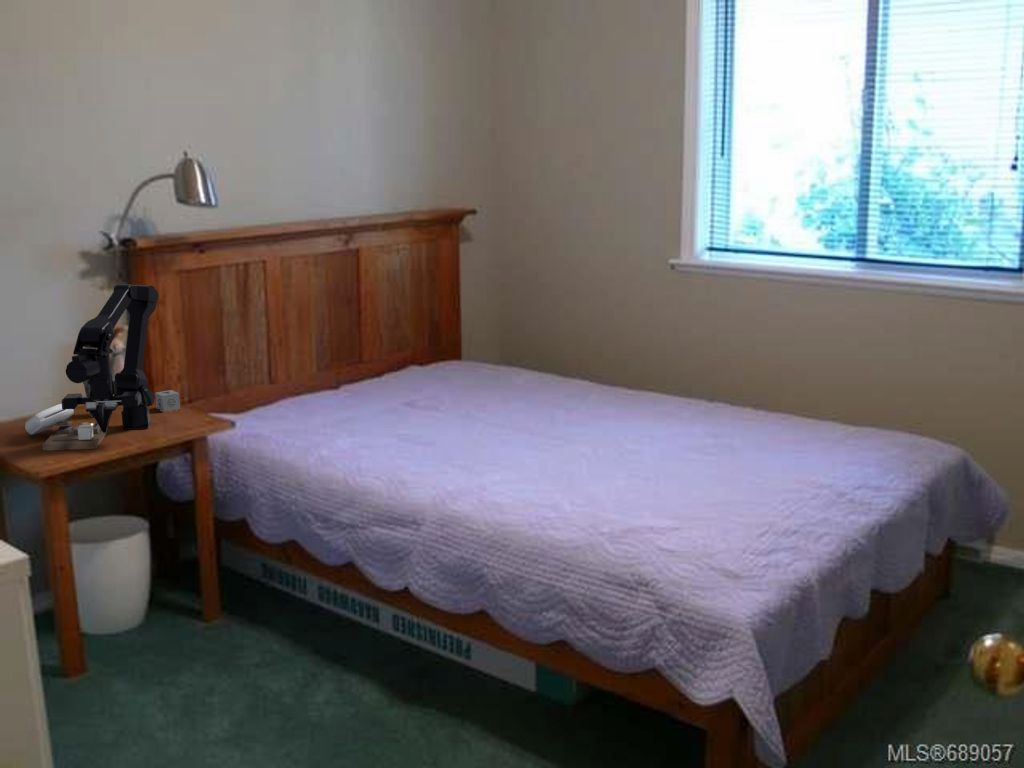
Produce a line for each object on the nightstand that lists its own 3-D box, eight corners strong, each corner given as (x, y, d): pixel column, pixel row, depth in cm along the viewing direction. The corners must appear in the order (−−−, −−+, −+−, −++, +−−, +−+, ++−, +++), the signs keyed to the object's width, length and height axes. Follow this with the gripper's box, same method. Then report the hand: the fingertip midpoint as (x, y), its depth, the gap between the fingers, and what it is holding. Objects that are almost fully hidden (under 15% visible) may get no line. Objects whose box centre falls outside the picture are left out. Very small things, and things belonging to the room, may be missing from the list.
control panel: (107, 432, 297) (106, 422, 296) (95, 448, 283) (94, 437, 283) (56, 434, 295) (55, 424, 294) (42, 450, 282) (41, 439, 281)
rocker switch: (72, 424, 294) (72, 421, 294) (67, 425, 290) (67, 422, 290) (61, 424, 294) (61, 421, 294) (56, 425, 289) (56, 422, 289)
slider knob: (93, 435, 287) (92, 424, 287) (90, 439, 285) (89, 428, 284) (81, 436, 287) (80, 425, 286) (78, 439, 284) (77, 428, 283)
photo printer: (57, 408, 301) (71, 398, 291) (65, 422, 301) (78, 412, 291) (21, 422, 294) (34, 412, 285) (29, 437, 294) (41, 427, 285)
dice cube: (172, 406, 323) (171, 389, 322) (180, 409, 319) (179, 393, 318) (156, 409, 320) (155, 392, 318) (163, 412, 316) (162, 396, 315)
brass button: (96, 428, 295) (95, 421, 294) (93, 432, 292) (92, 424, 291) (83, 429, 294) (83, 421, 294) (81, 432, 291) (80, 425, 291)
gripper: (142, 365, 291) (147, 422, 295) (68, 367, 289) (74, 425, 293) (134, 375, 281) (140, 433, 285) (58, 378, 278) (64, 437, 282)
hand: (105, 432), depth 286 cm, fingers closed
